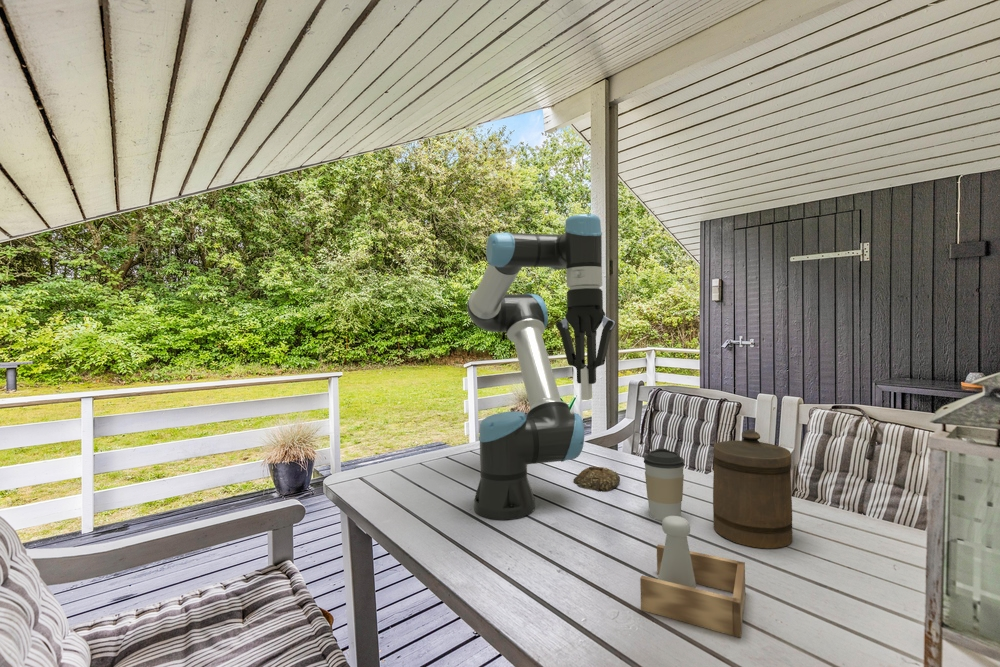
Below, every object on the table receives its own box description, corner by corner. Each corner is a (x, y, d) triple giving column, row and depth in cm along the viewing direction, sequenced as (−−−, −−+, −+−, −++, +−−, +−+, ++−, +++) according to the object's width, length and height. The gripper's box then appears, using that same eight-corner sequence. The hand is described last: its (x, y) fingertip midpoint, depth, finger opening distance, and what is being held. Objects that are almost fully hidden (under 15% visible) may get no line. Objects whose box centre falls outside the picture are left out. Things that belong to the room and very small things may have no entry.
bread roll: (625, 481, 135) (624, 464, 135) (610, 494, 125) (610, 476, 125) (583, 474, 142) (583, 458, 142) (566, 487, 132) (566, 469, 132)
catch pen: (640, 609, 74) (640, 578, 73) (658, 571, 85) (657, 544, 85) (740, 637, 66) (740, 602, 66) (745, 592, 78) (744, 562, 78)
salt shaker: (658, 604, 75) (656, 523, 75) (658, 585, 80) (656, 510, 80) (697, 610, 73) (696, 527, 73) (695, 590, 78) (693, 513, 78)
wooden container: (806, 536, 97) (804, 431, 97) (769, 556, 89) (766, 442, 89) (737, 513, 110) (735, 420, 110) (699, 529, 102) (697, 429, 102)
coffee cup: (689, 524, 104) (687, 458, 104) (646, 522, 106) (645, 456, 106) (681, 509, 113) (680, 447, 113) (642, 507, 115) (641, 446, 115)
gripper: (549, 289, 100) (551, 399, 100) (609, 285, 93) (611, 403, 93) (562, 291, 106) (565, 395, 106) (619, 287, 100) (622, 398, 100)
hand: (586, 398), depth 100 cm, fingers closed
